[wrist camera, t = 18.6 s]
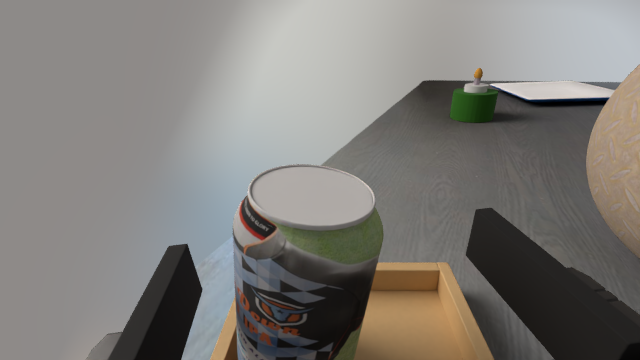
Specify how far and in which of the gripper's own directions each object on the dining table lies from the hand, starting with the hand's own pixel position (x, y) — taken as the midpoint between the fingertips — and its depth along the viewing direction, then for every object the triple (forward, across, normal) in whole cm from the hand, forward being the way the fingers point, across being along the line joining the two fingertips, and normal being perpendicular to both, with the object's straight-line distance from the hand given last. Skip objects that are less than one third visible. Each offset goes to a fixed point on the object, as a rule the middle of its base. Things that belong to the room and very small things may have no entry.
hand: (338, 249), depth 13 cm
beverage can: (0, -2, -8) cm, 9 cm away
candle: (+47, +37, -9) cm, 61 cm away
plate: (+59, +67, -9) cm, 90 cm away
